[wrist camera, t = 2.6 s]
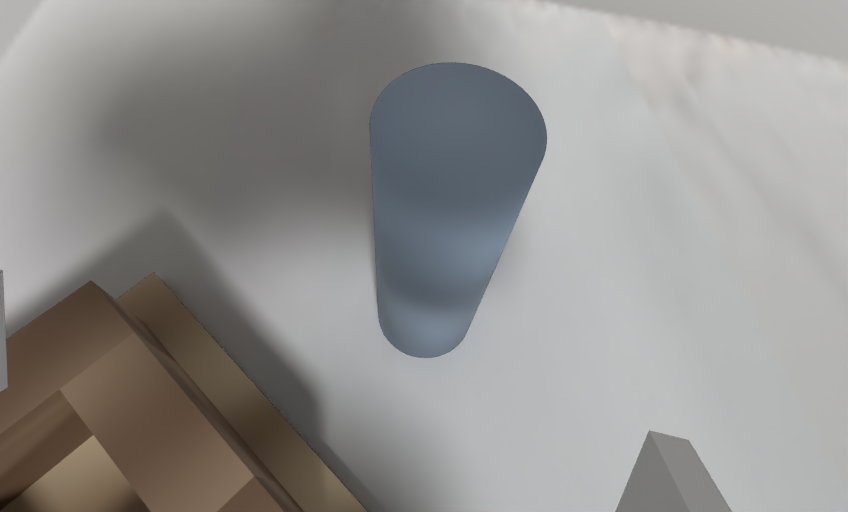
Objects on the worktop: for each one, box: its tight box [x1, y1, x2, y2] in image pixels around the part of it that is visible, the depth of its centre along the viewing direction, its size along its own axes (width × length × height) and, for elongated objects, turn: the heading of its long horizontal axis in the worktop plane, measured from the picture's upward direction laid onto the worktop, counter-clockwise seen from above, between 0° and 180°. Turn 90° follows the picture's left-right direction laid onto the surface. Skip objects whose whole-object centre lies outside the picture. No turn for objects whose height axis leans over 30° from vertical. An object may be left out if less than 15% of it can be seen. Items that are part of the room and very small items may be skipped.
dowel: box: [370, 63, 547, 358], centre depth 17 cm, size 4×4×12 cm
